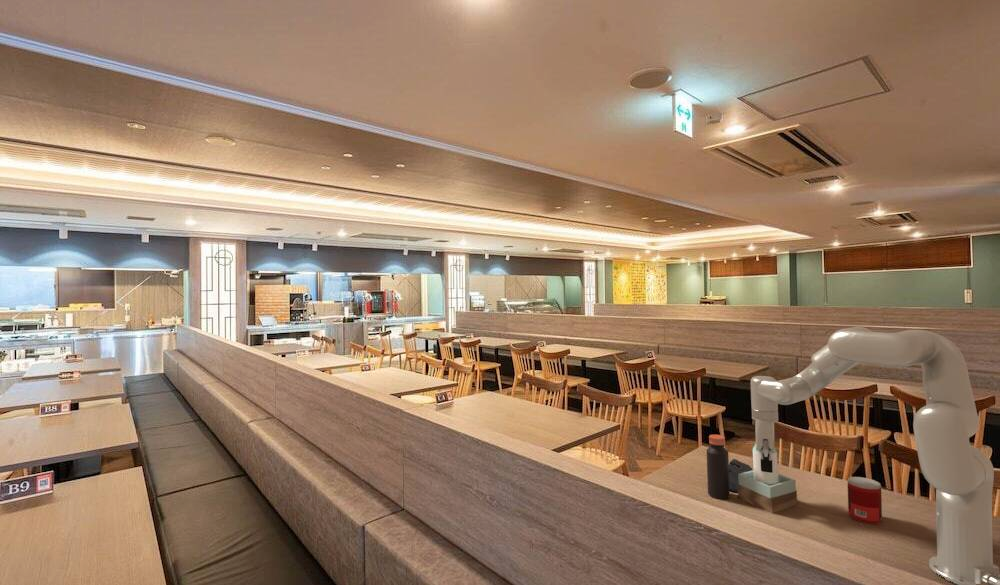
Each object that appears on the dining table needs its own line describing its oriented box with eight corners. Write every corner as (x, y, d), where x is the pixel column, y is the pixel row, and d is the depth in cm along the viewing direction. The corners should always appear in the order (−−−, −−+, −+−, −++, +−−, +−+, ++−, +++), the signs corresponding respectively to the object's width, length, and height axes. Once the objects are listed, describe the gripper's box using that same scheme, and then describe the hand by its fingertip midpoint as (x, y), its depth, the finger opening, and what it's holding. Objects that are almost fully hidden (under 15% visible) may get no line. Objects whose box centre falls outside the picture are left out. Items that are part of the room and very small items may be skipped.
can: (757, 485, 149) (755, 447, 150) (751, 477, 156) (749, 441, 157) (781, 486, 148) (779, 448, 148) (774, 479, 154) (772, 442, 155)
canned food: (888, 525, 135) (887, 487, 135) (857, 523, 137) (856, 486, 136) (872, 512, 142) (871, 477, 142) (843, 511, 144) (842, 475, 144)
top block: (795, 491, 149) (795, 480, 149) (770, 498, 144) (770, 487, 144) (763, 477, 159) (762, 467, 159) (738, 484, 155) (738, 474, 155)
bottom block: (797, 505, 149) (796, 490, 149) (772, 514, 144) (771, 498, 144) (762, 491, 160) (762, 477, 160) (738, 499, 155) (737, 484, 155)
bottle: (727, 491, 160) (725, 434, 160) (731, 500, 153) (729, 440, 153) (706, 489, 162) (704, 433, 162) (709, 498, 155) (707, 439, 155)
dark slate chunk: (701, 485, 166) (701, 472, 166) (722, 467, 182) (721, 455, 182) (748, 498, 156) (748, 484, 156) (765, 477, 172) (765, 464, 172)
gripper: (752, 407, 161) (754, 456, 161) (750, 420, 146) (753, 474, 146) (777, 409, 157) (779, 459, 157) (778, 422, 142) (780, 478, 142)
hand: (766, 466), depth 152 cm, fingers open, 9 cm apart
